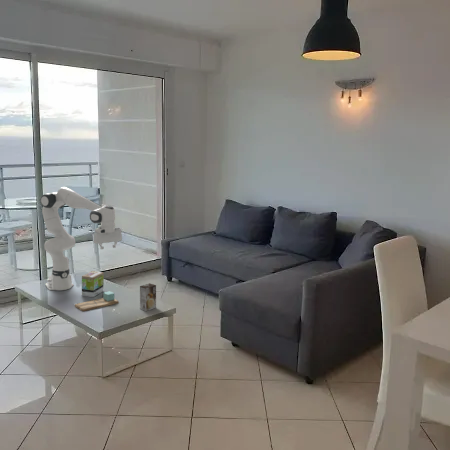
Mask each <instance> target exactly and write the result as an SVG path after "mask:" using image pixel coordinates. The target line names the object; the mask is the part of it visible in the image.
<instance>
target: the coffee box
mask: <svg viewBox="0 0 450 450" xmlns="http://www.w3.org/2000/svg"><path fill="white" fill-rule="evenodd" d="M156 308H157V284H153V283H146V284H143V285H140V286H139V309H140V310H142V311H144V312H149V311H151V310H153V309H156Z"/></svg>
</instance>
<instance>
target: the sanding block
mask: <svg viewBox="0 0 450 450" xmlns="http://www.w3.org/2000/svg"><path fill="white" fill-rule="evenodd" d="M102 294H103V297H102V298H103V299H104V300H105V301H107V302H109V301H114V299H115V293H114V292H113V291H109V290H108V291H103V292H102Z"/></svg>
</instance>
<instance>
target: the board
mask: <svg viewBox="0 0 450 450" xmlns="http://www.w3.org/2000/svg"><path fill="white" fill-rule="evenodd" d="M119 301H120V300H118V299H116V298H114V301H109V302H107V301H105V300H104V299H103V297H102V298H101V297H100V298H97V299H94V300H93V299H92V300H87V301H84V302H79V303H75V304H74V308H76V309H78V310H80V311H81V312H86V311H90V310H94V309H100V308H104V307H108V306H112V305H118V304H119V303H120V302H119Z"/></svg>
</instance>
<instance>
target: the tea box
mask: <svg viewBox="0 0 450 450" xmlns="http://www.w3.org/2000/svg"><path fill="white" fill-rule="evenodd" d="M104 276H105V275H104V272H102V271H95V270H94V271H93V270H92V271H89V272H88V273H85V274H83V275H82V276H81V296H82V297H90V298H95V297H96V296H97V295H99V294H101V293H104V290H105V289H104Z"/></svg>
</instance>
